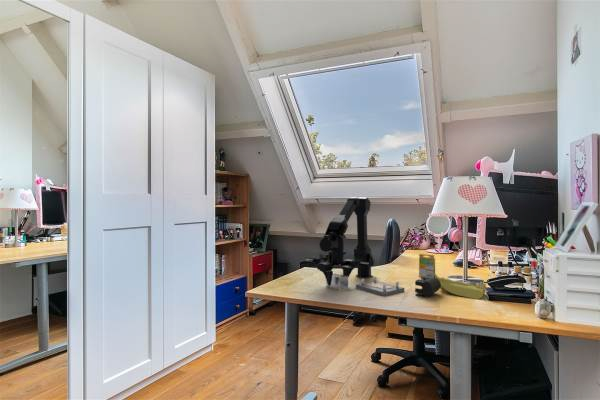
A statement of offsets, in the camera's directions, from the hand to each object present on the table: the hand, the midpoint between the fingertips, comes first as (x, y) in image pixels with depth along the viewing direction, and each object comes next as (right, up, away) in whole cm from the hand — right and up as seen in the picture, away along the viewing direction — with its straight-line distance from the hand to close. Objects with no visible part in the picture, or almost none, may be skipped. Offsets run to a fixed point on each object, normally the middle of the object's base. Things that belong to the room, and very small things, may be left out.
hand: (337, 284), depth 162 cm
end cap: (+36, -2, -12) cm, 38 cm away
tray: (+18, -1, -4) cm, 18 cm away
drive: (0, -1, 0) cm, 1 cm away
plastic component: (+51, -2, -8) cm, 51 cm away
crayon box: (+47, -2, +22) cm, 52 cm away
